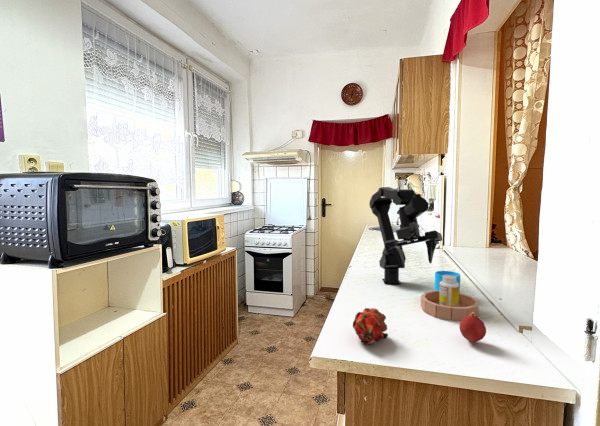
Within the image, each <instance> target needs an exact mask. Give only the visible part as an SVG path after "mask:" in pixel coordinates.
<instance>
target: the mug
mask: <svg viewBox="0 0 600 426" xmlns="http://www.w3.org/2000/svg"><path fill="white" fill-rule="evenodd" d="M443 275H453V276H456V280H457V281H456V282H457V283H458V284H459V293H461V273H458V272H456V271H451V270H437V271H434V291H439V290H440V282H441V281H442V276H443Z"/></svg>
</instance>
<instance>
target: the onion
mask: <svg viewBox="0 0 600 426" xmlns="http://www.w3.org/2000/svg"><path fill="white" fill-rule="evenodd" d="M459 331H460V333H461V335H462V337H463V338H464V339H466V341H468V342H469V343H470V344H473V345H474V344H476V343H478V342H479V341H481V340H483V339H484V338H485V336H486V334H487V327H486V325H485V323H484V321H483V320H482V319H481V318H480V317H479V316H478V317H477V316H476V315H475V313H474V312H472V313H471V314H470V315H467V316H466V317H464V318H463V319H462V321H459Z"/></svg>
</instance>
